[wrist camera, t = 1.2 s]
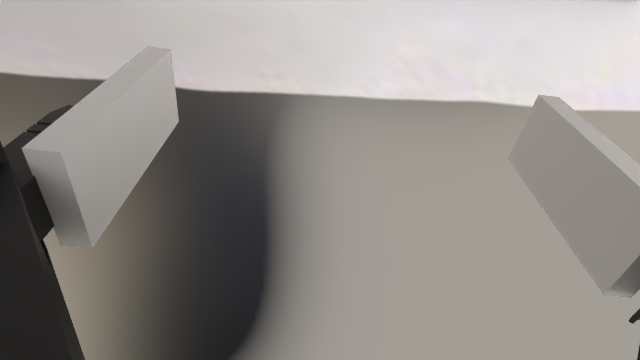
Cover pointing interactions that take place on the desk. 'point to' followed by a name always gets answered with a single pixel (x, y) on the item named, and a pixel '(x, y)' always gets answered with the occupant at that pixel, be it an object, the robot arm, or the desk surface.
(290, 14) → the desk surface
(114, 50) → the desk surface
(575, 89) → the desk surface
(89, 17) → the desk surface
